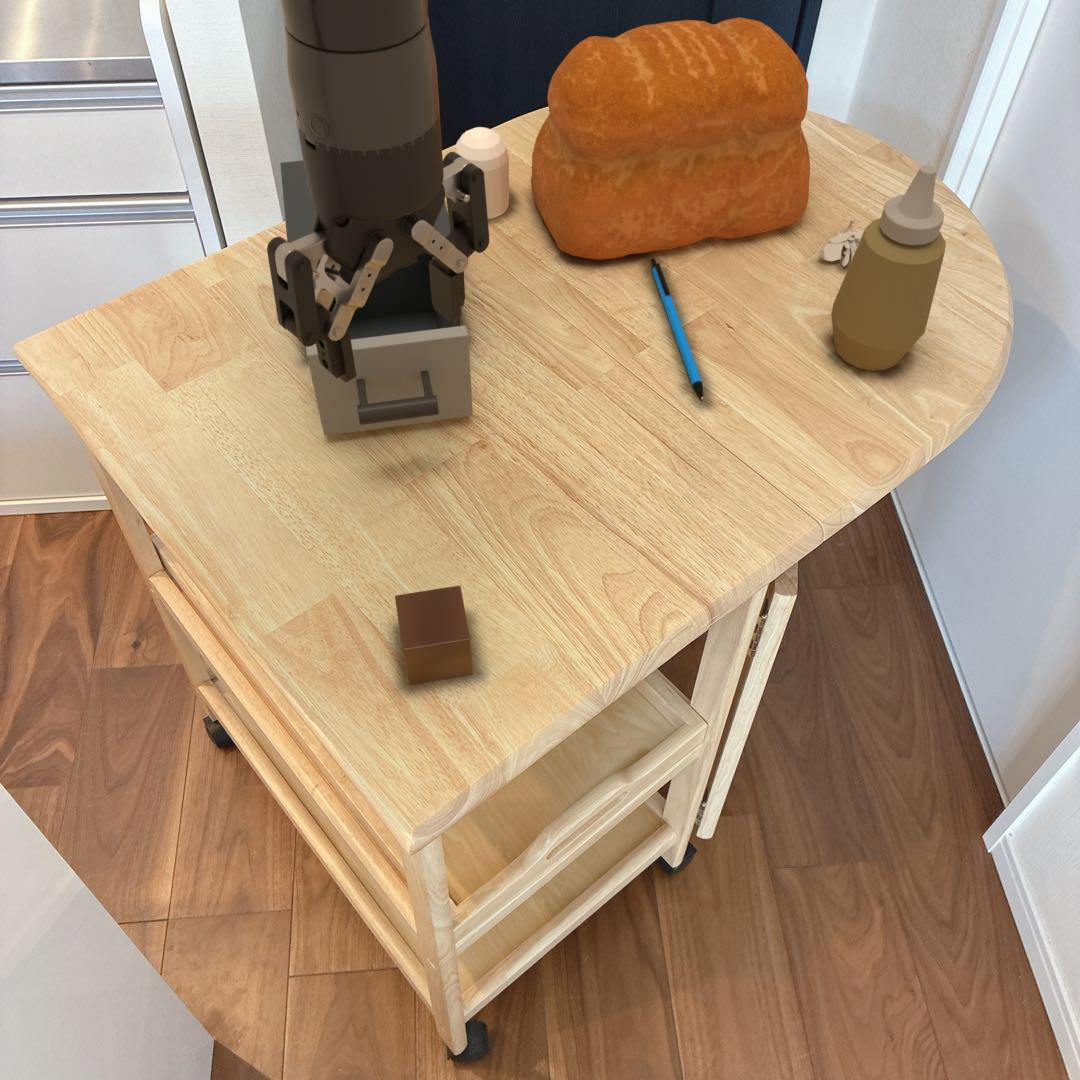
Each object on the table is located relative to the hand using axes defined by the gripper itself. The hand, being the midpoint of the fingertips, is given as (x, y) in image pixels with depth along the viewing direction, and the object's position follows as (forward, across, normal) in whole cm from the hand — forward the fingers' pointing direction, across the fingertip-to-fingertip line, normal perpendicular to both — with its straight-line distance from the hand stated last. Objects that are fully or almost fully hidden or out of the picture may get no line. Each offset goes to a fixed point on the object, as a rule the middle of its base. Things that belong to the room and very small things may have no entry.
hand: (395, 343), depth 68 cm
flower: (+17, -51, +4) cm, 54 cm away
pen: (+18, -31, -1) cm, 36 cm away
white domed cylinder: (+18, -31, -27) cm, 45 cm away
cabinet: (+17, -14, -23) cm, 32 cm away
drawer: (+17, -7, -12) cm, 22 cm away
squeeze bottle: (+18, -42, +12) cm, 47 cm away
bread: (+18, -44, -14) cm, 50 cm away
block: (+18, +7, +11) cm, 22 cm away
